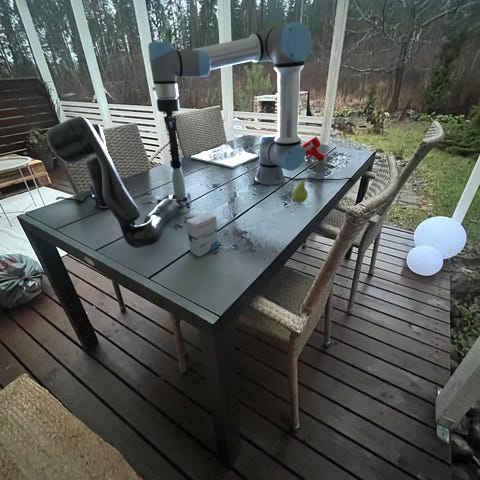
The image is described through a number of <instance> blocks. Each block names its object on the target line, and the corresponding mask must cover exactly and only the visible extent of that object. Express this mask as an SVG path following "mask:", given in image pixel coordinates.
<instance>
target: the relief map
mask: <svg viewBox="0 0 480 480" xmlns="http://www.w3.org/2000/svg"><path fill="white" fill-rule="evenodd" d="M190 158H191V159H192V160H197V161H201V162H205V163H209V164H210V163H211V164H214V165H218V166H221V167H222V166H223V167H228V168H231V169H233V168H234V169H235V168H236V167H238V166H241V165H242V164H246V163H248V162H250V161H252V160H255V159H259V154H256V153H254V154H253V153H250V152H248V151H246V150H245V149H244V148H243V147H240V148H237V149H234V148H232V147H231V146H230V145H229V144H224V143H223V144H222V145H220V146H218V147H215V148H212V149H209V150H205V151H201V152H200V153H198V154H194V155H191V156H190Z"/></svg>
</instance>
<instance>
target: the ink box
mask: <svg viewBox="0 0 480 480" xmlns="http://www.w3.org/2000/svg"><path fill="white" fill-rule="evenodd" d="M185 222H186V227H187V235H188V243H189V244H188V245H189V251H190V252H191V253H193V254H194V255H195V256H197V257H198V258H200V257H201V256H203V255H205V254H207V253H209V252H211V251H213V250H214V249H216V248H219V238H218V237H219V236H218V224H217V222H218V221H217V216H216V215H214V214H213V213H210V212H208V211H206V212H204V213H202V214H198V215H196V216H194V217H191V218H188V219H186V221H185Z"/></svg>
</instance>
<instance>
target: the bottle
mask: <svg viewBox="0 0 480 480" xmlns="http://www.w3.org/2000/svg"><path fill="white" fill-rule="evenodd" d="M171 182H172V188H173V193H174V196H175V199H178V198H180V197H184V196H185V195H186V194H187V192H186V184H185V177H184V174H183V171H182V169H181V167H180V168H178V169H173V168H172V173H171ZM184 201H185V199H184ZM188 211H189V209H187V207H183V208H182V209H180V211H179V213H178V214H180V215H181V214H186V213H188Z"/></svg>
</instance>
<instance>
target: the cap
mask: <svg viewBox="0 0 480 480" xmlns="http://www.w3.org/2000/svg"><path fill="white" fill-rule="evenodd" d="M179 161H180V168H181V167H182V166H183V163H182V159H180V158H179ZM169 164H170V167H171V168H172V169H173V164H172V159H170V160H169Z"/></svg>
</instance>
